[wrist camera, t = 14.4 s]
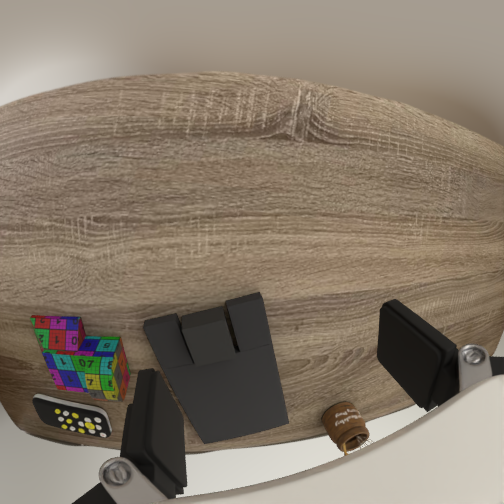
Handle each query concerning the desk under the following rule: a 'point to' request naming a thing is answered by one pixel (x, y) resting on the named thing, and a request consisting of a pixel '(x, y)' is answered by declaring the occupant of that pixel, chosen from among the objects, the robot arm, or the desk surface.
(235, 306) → the big pad
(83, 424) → the remote control
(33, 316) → the block
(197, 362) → the small black box
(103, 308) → the desk surface
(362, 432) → the utensil holder
